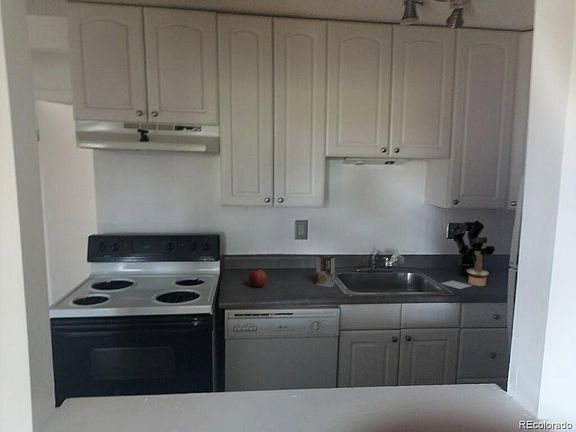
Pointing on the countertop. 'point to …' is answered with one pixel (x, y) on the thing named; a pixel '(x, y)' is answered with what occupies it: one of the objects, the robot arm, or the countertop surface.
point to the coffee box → (325, 271)
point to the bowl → (477, 280)
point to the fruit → (257, 277)
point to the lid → (478, 267)
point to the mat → (456, 284)
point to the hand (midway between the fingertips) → (479, 262)
